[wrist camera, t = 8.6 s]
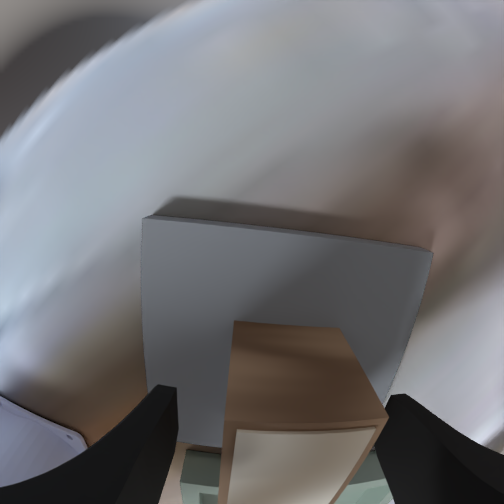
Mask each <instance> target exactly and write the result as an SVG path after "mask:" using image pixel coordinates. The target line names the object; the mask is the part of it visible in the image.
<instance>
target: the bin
mask: <svg viewBox="0 0 504 504" xmlns="http://www.w3.org/2000/svg"><path fill="white" fill-rule="evenodd" d="M220 465H221V454H215V453H207V452H199V451H192V450H186V454H185V459H184V464H183V469H182V474H181V479H180V487H181V494H182V500H183V504H218V491H219V478H220ZM392 499H393V496H392V494H391V491H390V489H389V486H388V484H387V481H386V478H385V476H384V473H383V471H382V468H381V466H380V463H379V460H378V458H377V454H376V450H375V451H370V452H369V453H368V455H367V457H366V458H365V460H364V461H363V463H362V465H361V466H360V468H359V469H358V471H357V472H356V474H355V475H354V477H353V478H352V480H351V481H350V482H349V484H348V485H347V487H346V488H345V489H344V491H343V492H342V494H341V495H340V496H339V498H338V499H337V500H336V502H335V503H334V504H388V503H389V502H390V501H391V500H392Z"/></svg>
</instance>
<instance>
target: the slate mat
mask: <svg viewBox="0 0 504 504" xmlns="http://www.w3.org/2000/svg"><path fill="white" fill-rule="evenodd" d="M432 257H433V253H432V252H430V251H428V250H426V249H424V248H421V247H415V246H409V245H402V244H396V243H389V242H382V241H375V240H368V239H360V238H353V237H346V236H338V235H331V234H323V233H315V232H307V231H299V230H291V229H283V228H274V227H266V226H257V225H248V224H239V223H229V222H220V221H210V220H200V219H190V218H180V217H169V216H158V215H150V216H147V217H145V218H142V241H141V306H142V330H143V346H144V359H145V371H146V381H147V390H148V394H149V392H150V391H151V390H152V389H153V388H154V387H155V386H156V385H158V384H160V385H165V386H171V387H177V404H178V423H179V431H178V436H177V442H183V443H189V444H196V445H203V446H211V447H220V448H222V441H223V429H224V417H225V406H226V396H227V386H228V375H229V365H230V355H231V345H232V335H233V326H234V320H236V321H246V322H257V323H268V324H281V325H295V326H311V327H331V328H340V330H341V332H342V333H343V335H344V337H345V339H346V340H347V342H348V344H349V346H350V347H351V349H352V351H353V353H354V354H355V356H356V358H357V360H358V361H359V363H360V365H361V367H362V369H363V370H364V372H365V374H366V376H367V378H368V379H369V381H370V383H371V385H372V387H373V388H374V390H375V392H376V394H377V396H378V398H379V399H380V401H381V403H383V401H384V399H385V397H386V395H387V393H388V390H389V388H390V386H391V384H392V381H393V379H394V377H395V374H396V372H397V369H398V367H399V364H400V362H401V359H402V357H403V354H404V351H405V349H406V346H407V343H408V341H409V338H410V335H411V332H412V329H413V326H414V323H415V320H416V317H417V314H418V310H419V307H420V304H421V300H422V297H423V293H424V290H425V286H426V282H427V278H428V274H429V270H430V266H431V262H432Z"/></svg>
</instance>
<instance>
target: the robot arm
mask: <svg viewBox="0 0 504 504" xmlns="http://www.w3.org/2000/svg"><path fill="white" fill-rule="evenodd" d="M385 411H386V412H387V414H388V416H389V418H388V420H387V422H386V424H385V426H384V428H383V429H382V431H381V433H380V435H379V437H378V438H377V440H376V442H375V443H374V446H375V450H376V454H377V458H378V460H379V463H380V466H381V468H382V471H383V473H384V476H385V478H386V481H387V484H388V486H389V489H390V491H391V494H392V496H393V499H394V502H395V504H504V455H502V454H500V453H497V452H495V451H493V450H490V449H488V448H486V447H484V446H482V445H480V444H478V443H476V442H475V441H473V440H471V439H469V438H468V437H466V436H465V435H463V434H461V433H460V432H458V431H457V430H455V429H454V428H452V427H451V426H449V425H448V424H447V423H445V422H444V421H442V420H441V419H440V418H438V417H437V416H436V415H434V414H433V413H432V412H430V411H429V410H428V409H426V408H425V407H424V406H422V405H421V404H419V403H418V402H417V401H415V400H414V399H412V398H411V397H410V396H408V395H406V394H396V395H391V396H390V398H389V400H388V403H387V405H386V407H385ZM178 431H179V423H178V404H177V387H171V386H165V385H160V384H158V385H156V386H155V387H154V388H153V389H152V390H151V391H150V392H149V394H148V395H147V396H146V397H145V398H144V399H143V400H142V401H141V402H140V403H139V404H138V405H137V406H136V407H135V408H134V409H133V410H132V411H131V412H130V413H129V414H128V415H127V416H126V417H125V418H124V419H123V420H122V421H121V422H120V423H119V424H118V425H117V426H115V427H114V428H113V429H112V430H111V431H110V432H108V433H107V434H106V435H105V436H103V437H102V438H101V439H100V440H99V441H97V442H96V443H95V444H93V445H92V446H90V447H89V448H87V445H86V443H85V441H84V438H83V437H82V436H81V435H80V434H79V433H77V432H75V431H72V430H70V429H67V428H65V427H62V426H60V425H58V424H55V423H53V422H51V421H48V420H46V419H44V418H42V417H40V416H37V415H35V414H33V413H31V412H29V411H27V410H25V409H23V408H21V407H19V406H17V405H16V404H14V403H12V402H10V401H8V400H6V399H5V398H3V397H1V396H0V504H158V503H159V500H160V496H161V493H162V490H163V487H164V484H165V481H166V478H167V475H168V472H169V468H170V465H171V462H172V459H173V456H174V452H175V447H176V441H177V436H178Z"/></svg>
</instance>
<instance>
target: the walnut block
mask: <svg viewBox="0 0 504 504" xmlns="http://www.w3.org/2000/svg"><path fill="white" fill-rule="evenodd" d="M388 418H389V416H388V414H387V412H386V411H385V409H384V407H383V405H382V403H381V401H380V399H379V398H378V396H377V394H376V392H375V390H374V388H373V387H372V385H371V383H370V381H369V379H368V378H367V376H366V374H365V372H364V370H363V369H362V367H361V365H360V363H359V361H358V360H357V358H356V356H355V354H354V353H353V351H352V349H351V347H350V346H349V344H348V342H347V340H346V339H345V337H344V335H343V333H342V332H341V330H340V328H331V327H311V326H295V325H281V324H268V323H257V322H246V321H236V320H234V326H233V335H232V345H231V355H230V365H229V375H228V386H227V396H226V406H225V417H224V429H223V441H222V453H221V465H220V478H219V491H218V504H334V503H335V502H336V500H337V499H338V498H339V496H340V495H341V494H342V492H343V491H344V489H345V488H346V487H347V485H348V484H349V482H350V481H351V480H352V478H353V477H354V475H355V474H356V472H357V471H358V469H359V468H360V466H361V465H362V463H363V461H364V460H365V458H366V457H367V455H368V453H369V452H370V450H371V449H372V447H373V445H374V443H375V442H376V440H377V438H378V437H379V435H380V433H381V431H382V429H383V428H384V426H385V424H386V422H387V420H388Z"/></svg>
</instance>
